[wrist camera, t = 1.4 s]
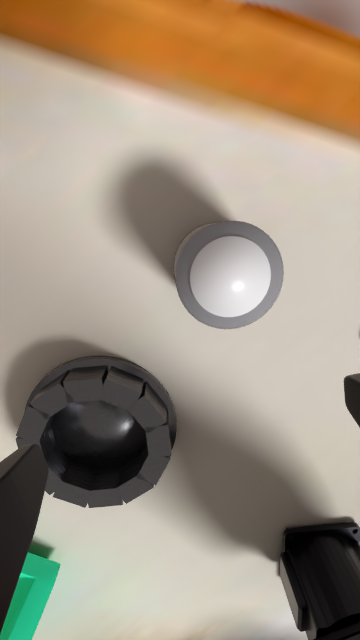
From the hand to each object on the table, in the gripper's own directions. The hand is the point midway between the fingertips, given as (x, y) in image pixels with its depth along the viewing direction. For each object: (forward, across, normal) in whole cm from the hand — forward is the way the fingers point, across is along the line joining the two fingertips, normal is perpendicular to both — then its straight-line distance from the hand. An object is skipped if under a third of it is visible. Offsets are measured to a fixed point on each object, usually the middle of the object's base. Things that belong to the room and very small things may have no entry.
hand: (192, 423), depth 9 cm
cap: (+13, -3, -2) cm, 13 cm away
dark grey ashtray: (+12, +7, +7) cm, 16 cm away
